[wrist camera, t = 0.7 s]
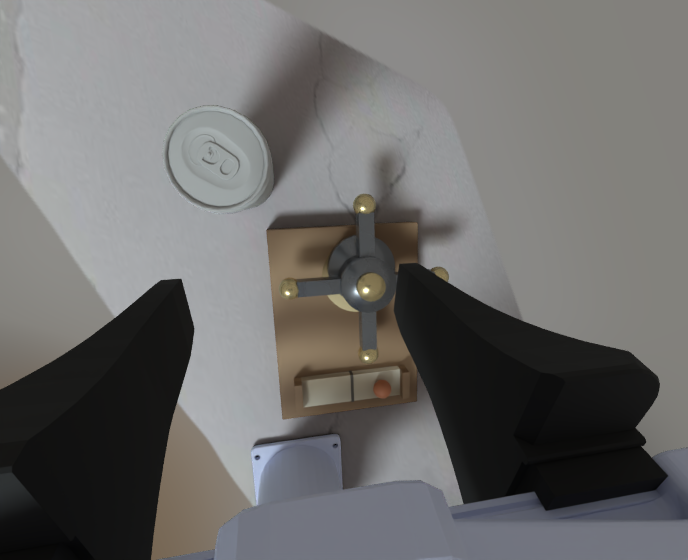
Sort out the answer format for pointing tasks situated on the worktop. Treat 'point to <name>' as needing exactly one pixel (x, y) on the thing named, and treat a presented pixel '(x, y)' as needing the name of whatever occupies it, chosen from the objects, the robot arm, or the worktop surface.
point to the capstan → (357, 276)
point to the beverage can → (218, 160)
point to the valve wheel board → (335, 328)
